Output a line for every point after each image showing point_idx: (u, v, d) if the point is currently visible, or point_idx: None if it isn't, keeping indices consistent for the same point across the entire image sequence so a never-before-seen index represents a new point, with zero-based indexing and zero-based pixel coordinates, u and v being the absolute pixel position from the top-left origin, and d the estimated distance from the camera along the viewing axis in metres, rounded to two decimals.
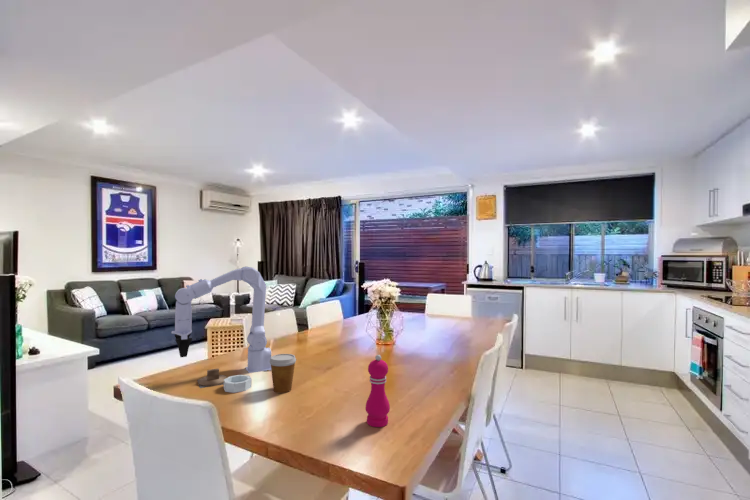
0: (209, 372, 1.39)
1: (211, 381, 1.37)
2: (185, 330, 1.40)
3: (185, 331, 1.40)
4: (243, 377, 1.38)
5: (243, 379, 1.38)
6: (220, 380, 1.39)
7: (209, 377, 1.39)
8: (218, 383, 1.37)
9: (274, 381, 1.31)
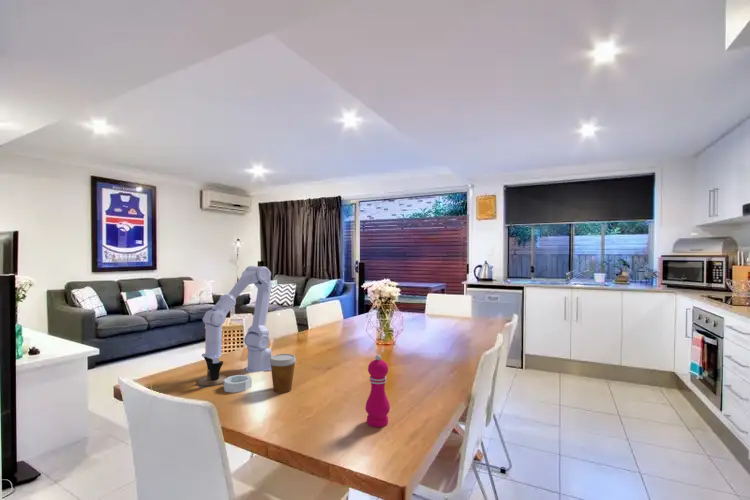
0: (209, 372, 1.39)
1: (211, 381, 1.37)
2: (216, 353, 1.38)
3: (216, 354, 1.38)
4: (243, 377, 1.38)
5: (243, 379, 1.38)
6: (220, 380, 1.39)
7: (209, 377, 1.39)
8: (218, 383, 1.37)
9: (274, 381, 1.31)
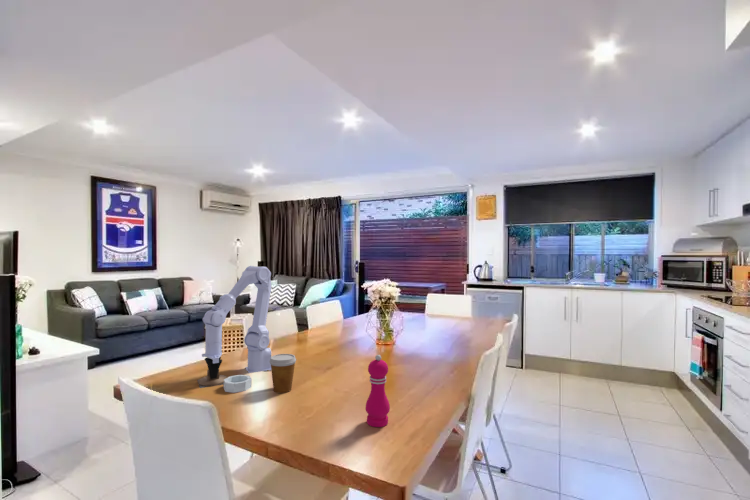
0: None
1: (211, 381, 1.37)
2: (216, 353, 1.38)
3: (216, 354, 1.38)
4: (243, 377, 1.38)
5: (243, 379, 1.38)
6: (220, 380, 1.39)
7: (209, 377, 1.39)
8: (218, 383, 1.37)
9: (274, 381, 1.31)
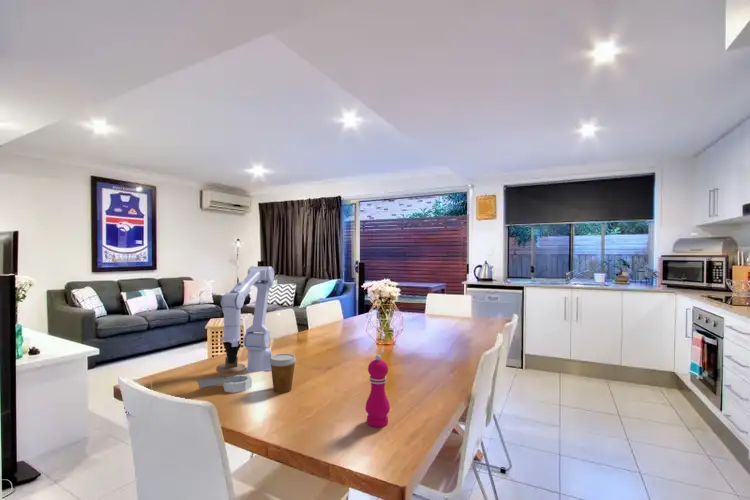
0: (227, 359, 1.35)
1: (229, 369, 1.33)
2: (235, 336, 1.34)
3: (234, 338, 1.34)
4: (243, 377, 1.38)
5: (243, 379, 1.38)
6: (238, 368, 1.34)
7: (227, 364, 1.34)
8: (236, 371, 1.32)
9: (274, 381, 1.31)
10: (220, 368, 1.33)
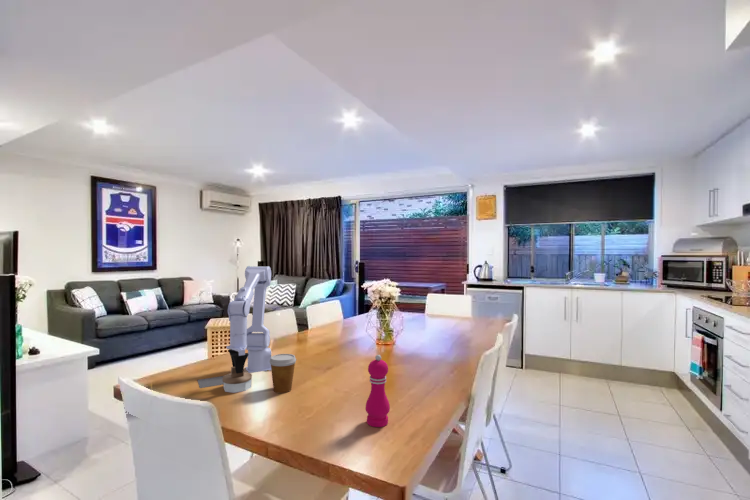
0: (233, 369, 1.33)
1: (236, 379, 1.31)
2: (241, 345, 1.33)
3: (241, 346, 1.32)
4: None
5: None
6: (245, 377, 1.33)
7: (233, 374, 1.33)
8: (243, 381, 1.31)
9: (274, 381, 1.31)
10: (226, 378, 1.32)
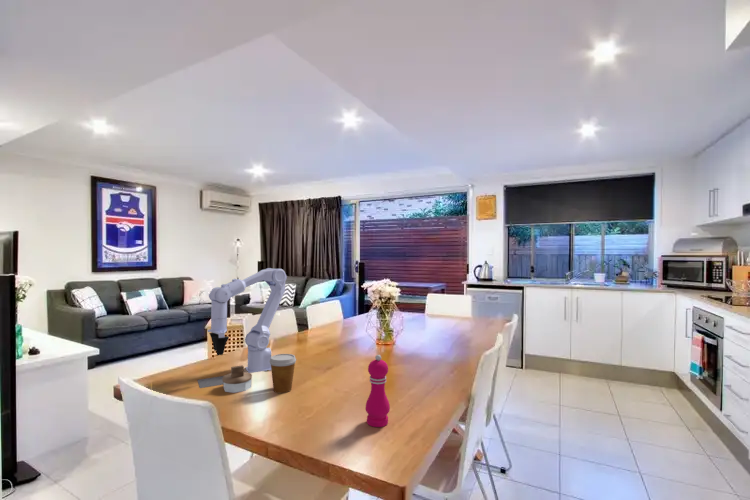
0: (233, 369, 1.33)
1: (236, 379, 1.31)
2: (221, 328, 1.43)
3: (221, 329, 1.42)
4: None
5: None
6: (245, 377, 1.33)
7: (233, 374, 1.33)
8: (243, 381, 1.31)
9: (274, 381, 1.31)
10: (226, 378, 1.32)
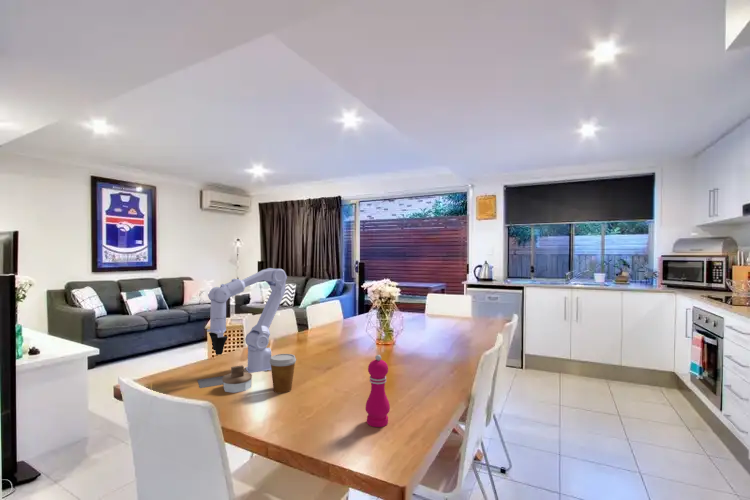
0: (233, 369, 1.33)
1: (236, 379, 1.31)
2: (220, 328, 1.43)
3: (220, 329, 1.43)
4: None
5: None
6: (245, 377, 1.33)
7: (233, 374, 1.33)
8: (243, 381, 1.31)
9: (274, 381, 1.31)
10: (226, 378, 1.32)
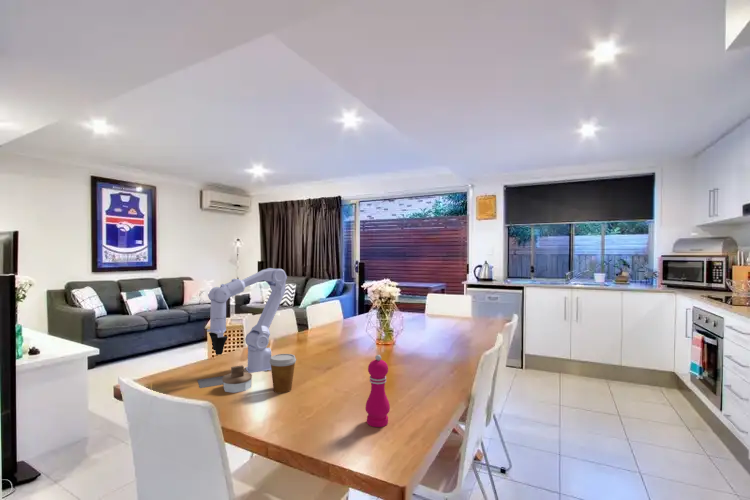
0: (233, 369, 1.33)
1: (236, 379, 1.31)
2: (220, 328, 1.43)
3: (220, 329, 1.43)
4: None
5: None
6: (245, 377, 1.33)
7: (233, 374, 1.33)
8: (243, 381, 1.31)
9: (274, 381, 1.31)
10: (226, 378, 1.32)
